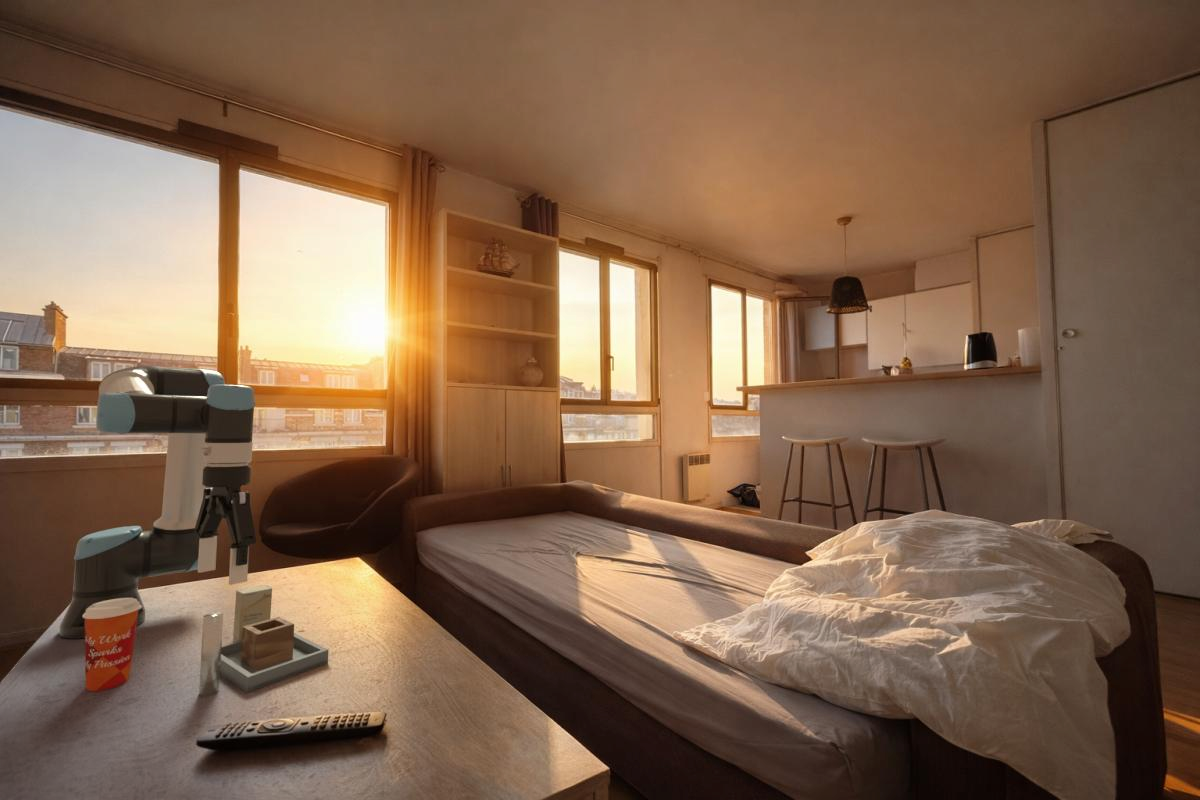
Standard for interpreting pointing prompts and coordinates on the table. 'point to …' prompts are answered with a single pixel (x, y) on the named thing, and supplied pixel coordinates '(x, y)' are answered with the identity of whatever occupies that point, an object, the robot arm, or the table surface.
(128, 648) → the coffee cup
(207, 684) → the pin
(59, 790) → the table surface
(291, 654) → the bored block
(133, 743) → the table surface
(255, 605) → the skincare box
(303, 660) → the tray
